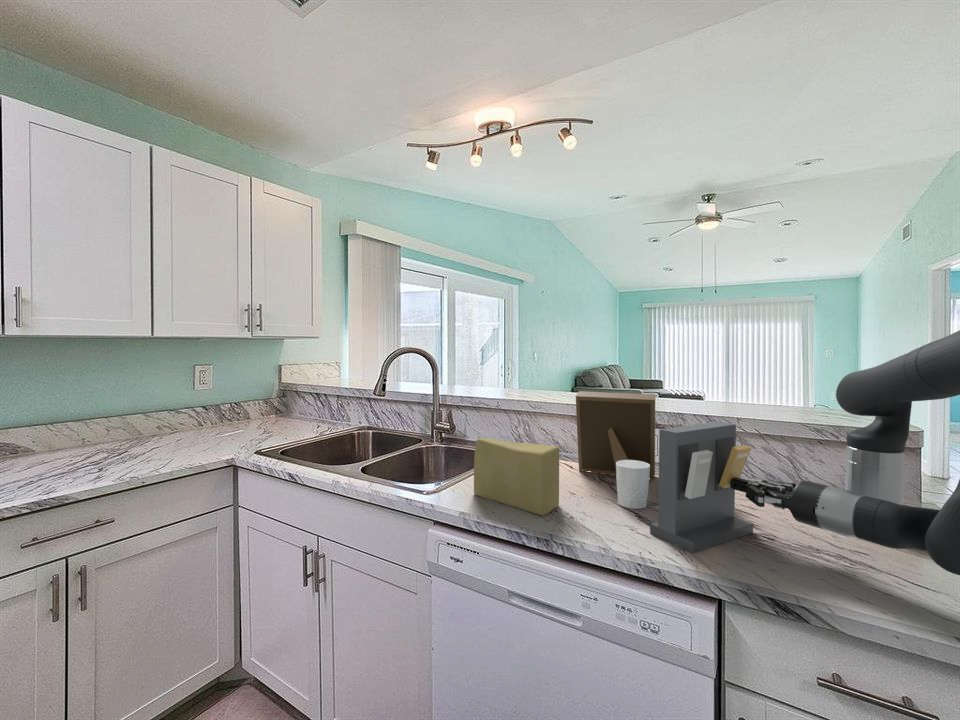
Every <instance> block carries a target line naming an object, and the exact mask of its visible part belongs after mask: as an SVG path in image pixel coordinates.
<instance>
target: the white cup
mask: <svg viewBox="0 0 960 720" xmlns="http://www.w3.org/2000/svg"><path fill="white" fill-rule="evenodd" d="M649 475H650V465H649V464H648V463H646V462H642V461H637V460H620V461H617V462H616V475H615V477H616V478H615V479H616V491H617V503H618V505H619V506H622V507H623V508H627V509H632V510H642V509H644V508H645V509H646V508H647V506H648V495H649V487H650V479H649Z"/></svg>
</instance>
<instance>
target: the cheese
mask: <svg viewBox="0 0 960 720" xmlns="http://www.w3.org/2000/svg"><path fill="white" fill-rule="evenodd" d="M474 448H475V449H474V460H473V494H474V495H475V496H477V495H478V496H477V497H480V496H481V498H483V497H484V499H487V500H490V501H494V502H498V503H501V504H504V505H508V506H510V507H515V508H517V509H520V510H523V511H526V512H530V513H532V514H535V515H538V516H541V517H543V516H546V515H547V514H549V513H550V512H551V511H553V510H555V509H556V508H557V507H558V506H559V505H560V448H559V446H556V445H547V444H539V443H538V444H537V443H529V442H517V441H516V442H515V441H507V440H502V439H501V440H499V439H492V438H487V437H482V438H478V439H476V441H475V446H474Z"/></svg>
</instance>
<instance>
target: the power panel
mask: <svg viewBox="0 0 960 720" xmlns="http://www.w3.org/2000/svg"><path fill="white" fill-rule="evenodd" d="M658 434H659V436H658V441H659V443H658V505H657V506H658V507H657V509H658V511H657V513H658V515H657V516H658V518H657V521H656V522H652V523H649V533H650V535H653V536H655V537H657V538H660V539H661V540H664V541H666V540H667V541H666V542H668V541H669V542H668V543H670V542H671V543H670V544H672V543H673V545H674V544H676V545H675V546H677V545H678V546H677V547H679V546H680V547H679V548H681V547H682V548H681V549H683V548H684V550H685V549H686V550H685V551H688V552H690V551H691V553H692V554H693V553H694V554H695V553H697V552H701V551H704V550H706V549H708V548H711V547H715V546H718V545H721V544H724V543H727V542H729V541H733V540H736V539H739V538H741V537H745V536H748V535H750V534H753V533H754V523H753V522H751V521H748V520H745V519H742V518H739V517H737V516H735V510H736V509H735V507H736V506H735V505H736V504H735V501H736V500H735V499H736V498H735V497H736V496H735V495H736V493H735V492H736V490H735V489H732V488H731V487H728V488H722V487H721V486H719V483H720V481H721V478H722V475H723V472H724V470H725V467H726V464H727V461H728V459H729V456H730V453H731V450H732V448H733V447H736V442H737V441H736V439H737V437H736V436H737V424H736V423H729V422H722V421H711V422H705V423H699V424H690V425H685V426H684V425H683V426H675V427H674V426H673V427H668V428H659V431H658ZM704 450H709V451H711V452H713V454H712V460H711V465H710V470H709V476H708V481H707V486H706V491H705V495H704V496H700V497H696V498H692V499H689V498H687V497H685V492H686V486H687V480H688V475H689V469H690V464H691V458H692V453H693V452H699V451H704Z"/></svg>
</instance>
